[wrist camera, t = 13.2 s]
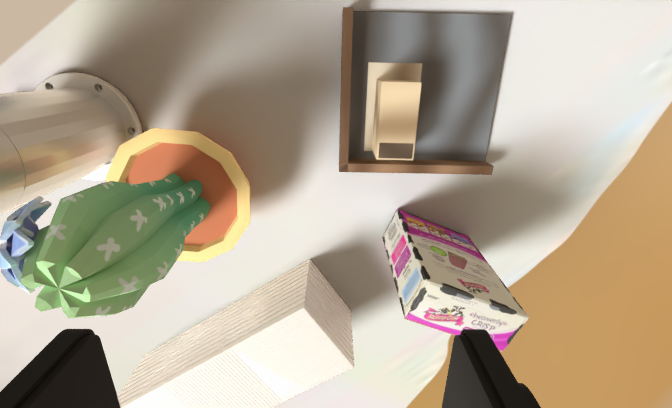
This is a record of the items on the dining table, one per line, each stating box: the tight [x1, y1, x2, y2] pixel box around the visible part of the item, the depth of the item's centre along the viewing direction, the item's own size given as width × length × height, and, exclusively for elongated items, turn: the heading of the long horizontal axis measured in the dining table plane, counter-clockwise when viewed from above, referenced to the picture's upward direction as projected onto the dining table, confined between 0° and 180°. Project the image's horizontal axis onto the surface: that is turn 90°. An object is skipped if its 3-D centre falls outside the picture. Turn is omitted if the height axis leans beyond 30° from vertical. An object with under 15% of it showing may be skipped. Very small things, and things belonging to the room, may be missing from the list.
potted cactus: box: [0, 128, 250, 318], centre depth 33 cm, size 15×15×25 cm
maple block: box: [372, 79, 422, 160], centre depth 39 cm, size 8×4×5 cm, turn 179°
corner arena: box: [339, 7, 511, 175], centre depth 40 cm, size 18×17×3 cm
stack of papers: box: [117, 259, 354, 408], centre depth 49 cm, size 32×11×11 cm, turn 123°
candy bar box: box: [383, 209, 529, 351], centre depth 40 cm, size 11×5×16 cm, turn 67°
